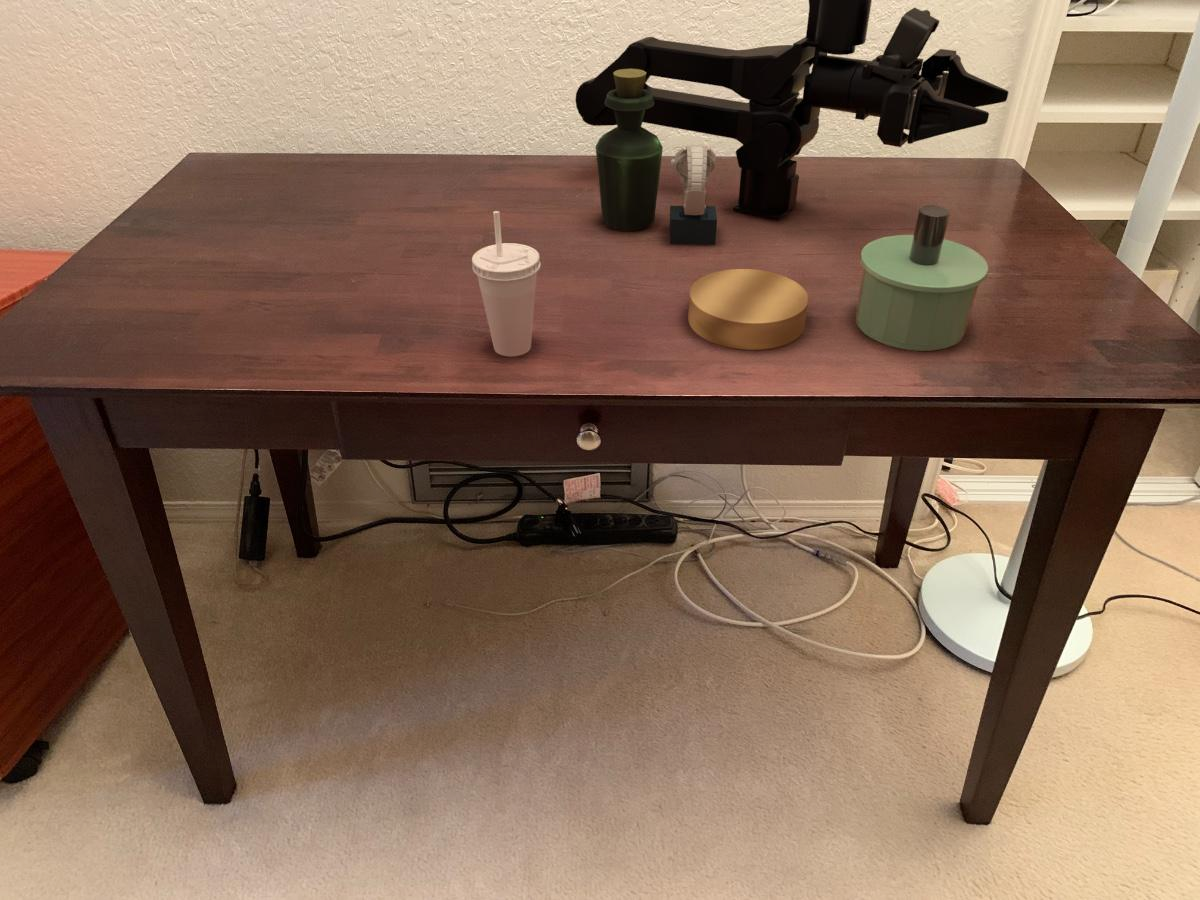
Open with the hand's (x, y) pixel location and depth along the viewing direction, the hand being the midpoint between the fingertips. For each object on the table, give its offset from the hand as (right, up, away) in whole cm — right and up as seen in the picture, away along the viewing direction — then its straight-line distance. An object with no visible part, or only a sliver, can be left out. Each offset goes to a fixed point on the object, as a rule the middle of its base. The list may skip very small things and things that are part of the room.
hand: (998, 106), depth 98 cm
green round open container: (-11, -24, -4) cm, 27 cm away
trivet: (-28, -24, -4) cm, 37 cm away
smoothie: (-52, -27, -7) cm, 59 cm away
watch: (-32, -11, +14) cm, 36 cm away
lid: (-11, -19, -8) cm, 23 cm away
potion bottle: (-39, -8, +18) cm, 44 cm away
